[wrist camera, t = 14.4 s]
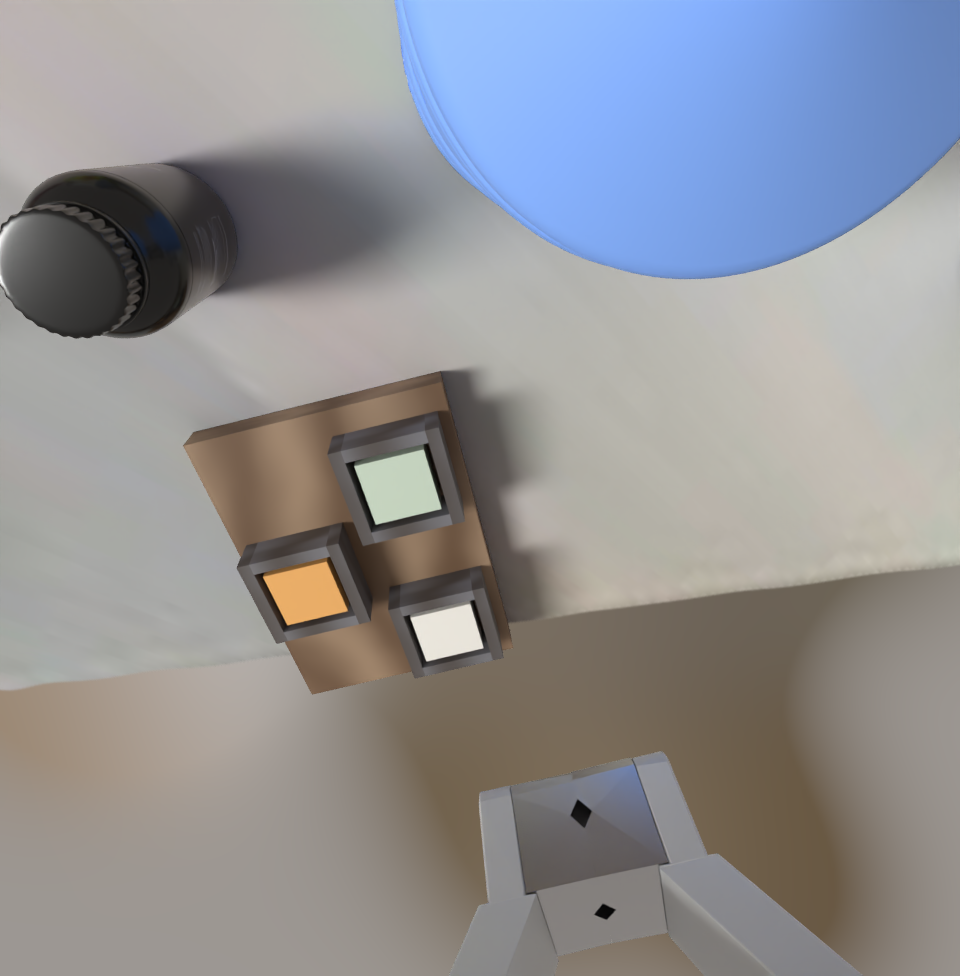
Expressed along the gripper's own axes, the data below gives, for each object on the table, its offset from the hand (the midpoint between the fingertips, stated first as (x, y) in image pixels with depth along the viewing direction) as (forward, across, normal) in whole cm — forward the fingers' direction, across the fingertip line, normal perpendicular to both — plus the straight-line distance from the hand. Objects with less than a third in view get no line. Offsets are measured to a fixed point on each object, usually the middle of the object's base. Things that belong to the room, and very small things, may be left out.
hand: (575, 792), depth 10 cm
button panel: (+31, +10, +14) cm, 36 cm away
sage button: (+29, +6, +8) cm, 30 cm away
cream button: (+29, +6, +20) cm, 36 cm away
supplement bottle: (+31, +14, -8) cm, 35 cm away
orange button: (+29, +14, +14) cm, 35 cm away
